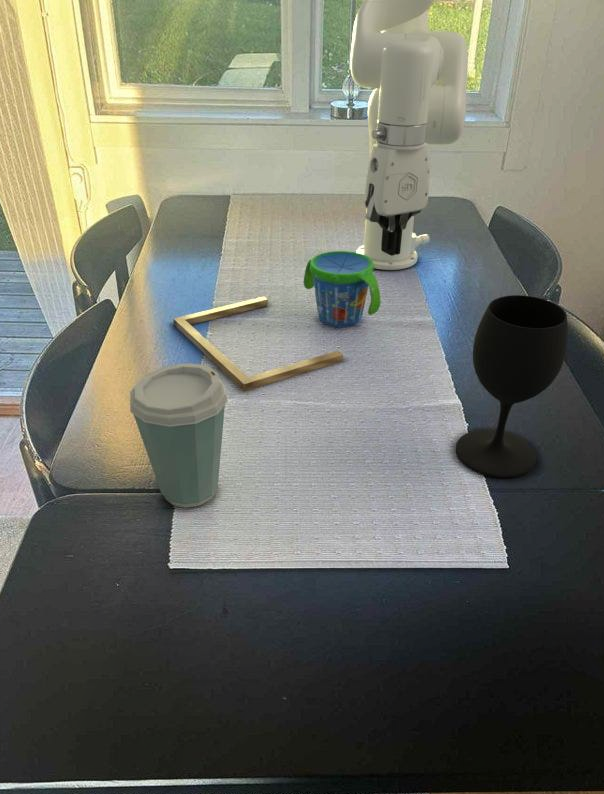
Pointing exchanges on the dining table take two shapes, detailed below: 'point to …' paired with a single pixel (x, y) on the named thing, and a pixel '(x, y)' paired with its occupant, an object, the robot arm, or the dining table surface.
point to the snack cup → (342, 286)
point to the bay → (227, 366)
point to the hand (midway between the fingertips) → (390, 252)
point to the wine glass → (513, 376)
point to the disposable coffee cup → (182, 429)
